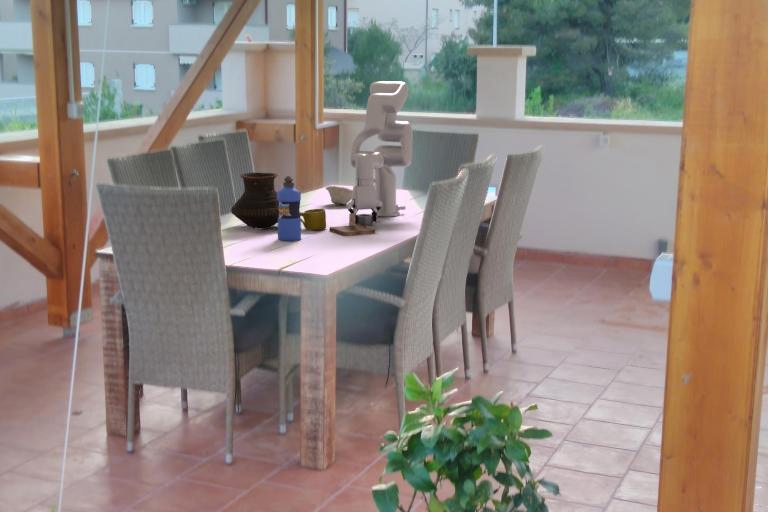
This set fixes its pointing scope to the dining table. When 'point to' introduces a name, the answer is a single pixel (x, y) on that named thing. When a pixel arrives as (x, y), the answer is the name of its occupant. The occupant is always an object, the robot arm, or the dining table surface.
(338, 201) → the bowl
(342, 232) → the post block
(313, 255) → the dining table surface
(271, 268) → the dining table surface
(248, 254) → the dining table surface
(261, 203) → the ceramic pot
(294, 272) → the dining table surface
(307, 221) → the mug
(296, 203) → the water bottle
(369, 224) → the collar
